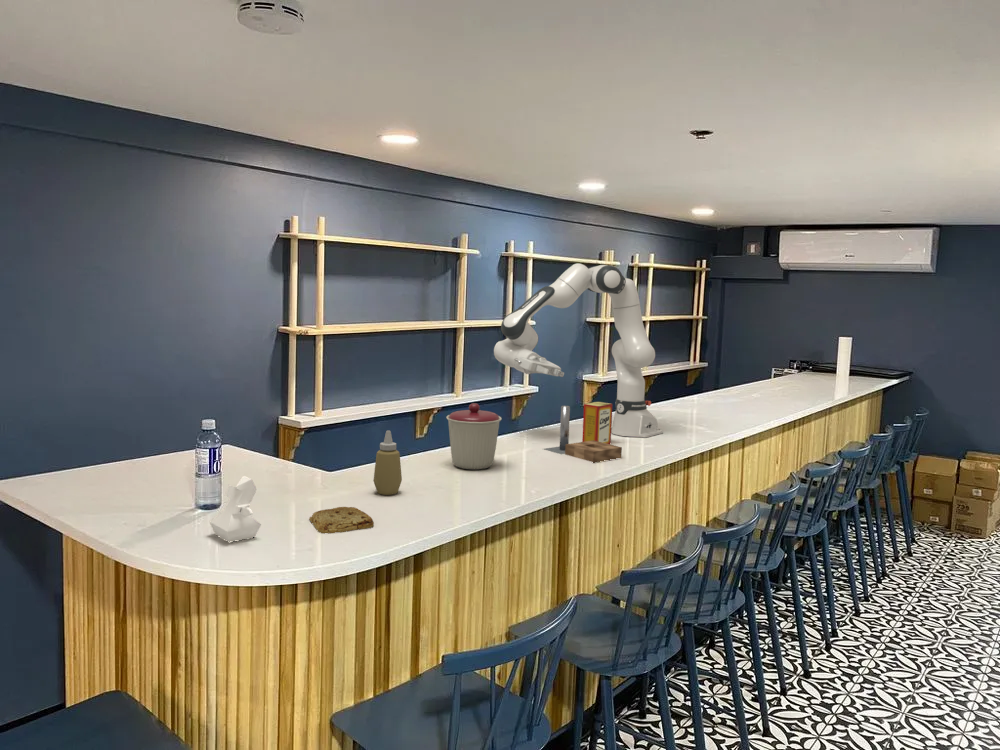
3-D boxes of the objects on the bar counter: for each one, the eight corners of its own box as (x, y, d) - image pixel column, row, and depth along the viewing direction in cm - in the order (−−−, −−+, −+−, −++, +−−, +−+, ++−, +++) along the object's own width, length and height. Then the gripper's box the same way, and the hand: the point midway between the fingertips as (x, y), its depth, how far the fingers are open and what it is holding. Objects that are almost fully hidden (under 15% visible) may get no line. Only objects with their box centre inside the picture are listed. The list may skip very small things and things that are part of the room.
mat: (566, 446, 297) (566, 445, 297) (585, 451, 289) (585, 450, 289) (542, 450, 290) (542, 448, 290) (561, 455, 282) (561, 454, 282)
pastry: (327, 511, 208) (327, 500, 208) (387, 519, 203) (387, 507, 203) (291, 530, 192) (291, 518, 191) (356, 539, 187) (356, 527, 186)
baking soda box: (596, 447, 297) (598, 405, 295) (582, 444, 302) (583, 403, 300) (610, 444, 304) (612, 402, 302) (596, 441, 309) (598, 400, 307)
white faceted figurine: (232, 548, 177) (231, 488, 175) (205, 533, 187) (204, 476, 185) (267, 540, 183) (266, 482, 181) (239, 526, 193) (238, 471, 191)
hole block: (592, 451, 291) (593, 440, 290) (621, 458, 280) (621, 447, 279) (565, 455, 282) (565, 444, 281) (593, 463, 271) (593, 451, 270)
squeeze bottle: (389, 498, 221) (390, 434, 219) (367, 493, 225) (367, 431, 223) (407, 492, 228) (408, 430, 225) (385, 487, 232) (386, 427, 230)
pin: (564, 448, 292) (565, 405, 290) (570, 449, 289) (571, 406, 287) (557, 449, 290) (559, 406, 288) (563, 450, 287) (565, 407, 285)
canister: (433, 465, 261) (435, 402, 258) (472, 457, 274) (474, 397, 271) (472, 476, 249) (474, 409, 246) (511, 467, 262) (513, 404, 259)
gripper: (514, 350, 295) (542, 362, 286) (545, 357, 311) (573, 368, 302) (509, 366, 296) (536, 378, 287) (540, 372, 312) (567, 384, 303)
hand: (555, 373), depth 295 cm, fingers open, 8 cm apart
